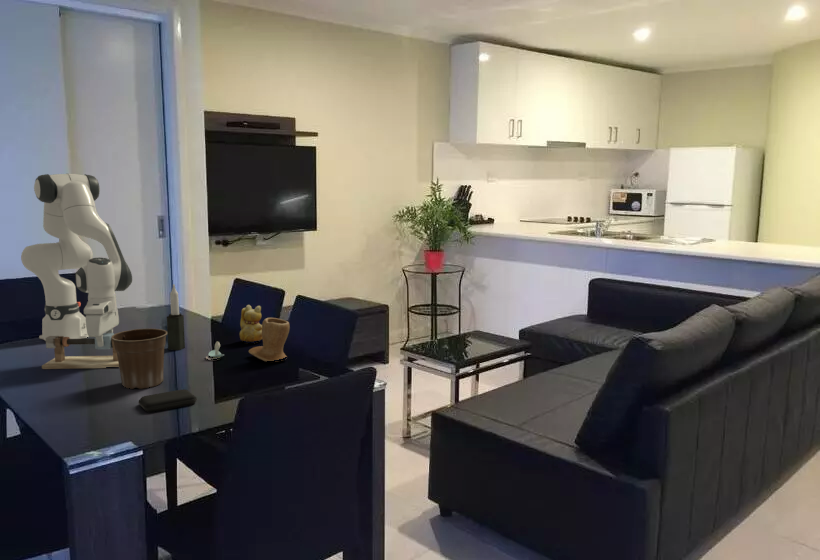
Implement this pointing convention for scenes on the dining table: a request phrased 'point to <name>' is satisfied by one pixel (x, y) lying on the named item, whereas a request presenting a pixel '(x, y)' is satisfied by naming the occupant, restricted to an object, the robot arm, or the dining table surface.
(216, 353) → the pacifier
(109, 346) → the marker sleeve
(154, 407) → the carrying case or bag
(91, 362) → the cord stand
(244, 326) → the decorative figurine
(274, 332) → the brown clay boot vase
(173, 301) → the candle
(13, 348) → the dining table surface
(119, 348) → the plant pot
